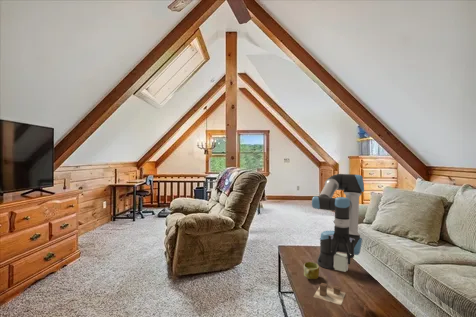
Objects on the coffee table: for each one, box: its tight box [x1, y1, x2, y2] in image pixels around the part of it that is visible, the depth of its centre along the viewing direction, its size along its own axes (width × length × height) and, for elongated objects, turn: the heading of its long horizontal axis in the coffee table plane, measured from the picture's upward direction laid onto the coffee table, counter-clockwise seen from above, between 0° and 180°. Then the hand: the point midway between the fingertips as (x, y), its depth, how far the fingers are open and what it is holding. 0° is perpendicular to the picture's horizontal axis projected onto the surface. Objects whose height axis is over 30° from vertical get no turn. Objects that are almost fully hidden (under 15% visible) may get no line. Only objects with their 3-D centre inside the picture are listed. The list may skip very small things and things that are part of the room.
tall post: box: [319, 282, 328, 297], centre depth 140 cm, size 3×3×6 cm
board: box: [313, 285, 346, 306], centre depth 140 cm, size 14×14×4 cm
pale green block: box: [334, 252, 347, 273], centre depth 142 cm, size 6×6×8 cm
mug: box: [303, 261, 320, 280], centre depth 162 cm, size 12×10×10 cm
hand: (340, 268), depth 142 cm, fingers closed on pale green block, 6 cm apart
